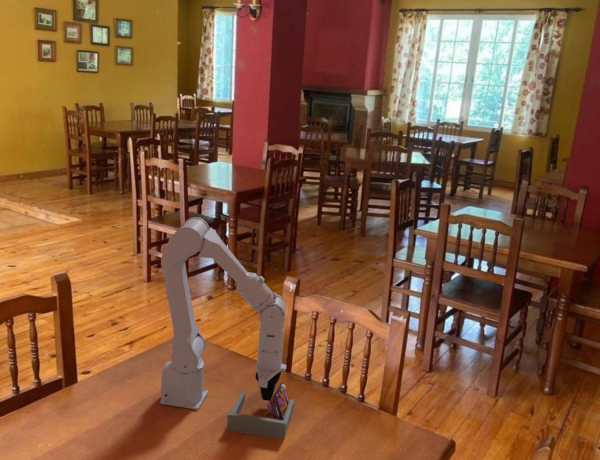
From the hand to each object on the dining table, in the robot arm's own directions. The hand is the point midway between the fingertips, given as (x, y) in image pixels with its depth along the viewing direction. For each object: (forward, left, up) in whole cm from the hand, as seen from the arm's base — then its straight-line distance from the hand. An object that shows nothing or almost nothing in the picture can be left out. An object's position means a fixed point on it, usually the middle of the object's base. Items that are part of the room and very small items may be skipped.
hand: (267, 398), depth 137 cm
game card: (+3, -3, -2) cm, 5 cm away
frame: (0, -5, -2) cm, 6 cm away
